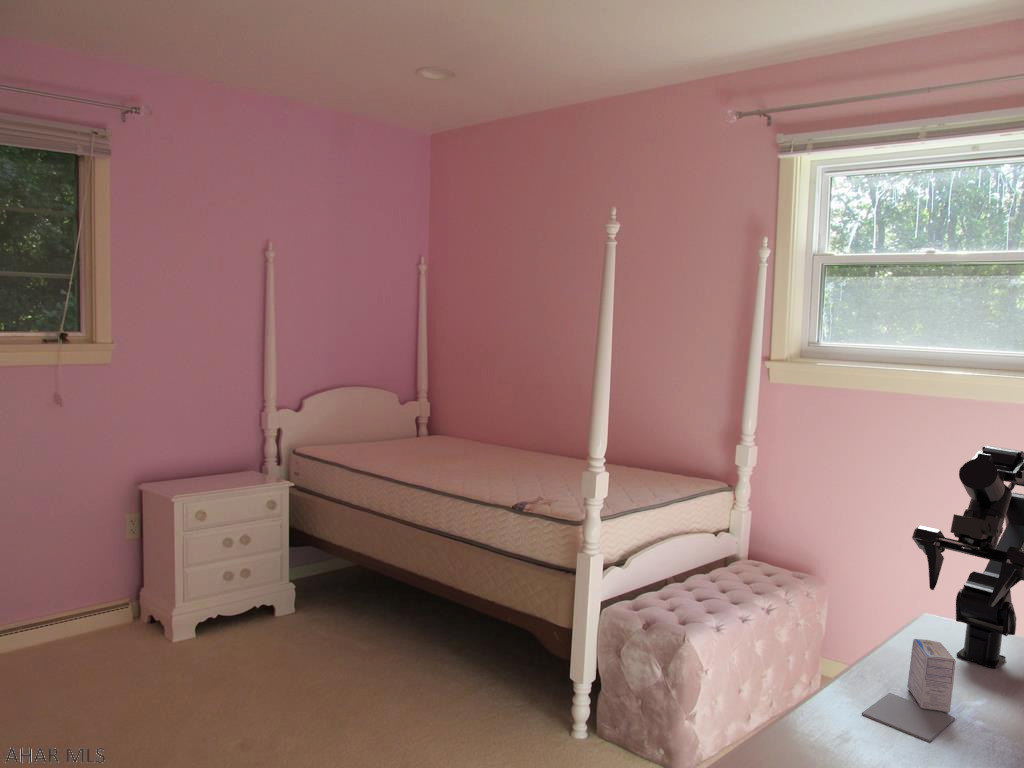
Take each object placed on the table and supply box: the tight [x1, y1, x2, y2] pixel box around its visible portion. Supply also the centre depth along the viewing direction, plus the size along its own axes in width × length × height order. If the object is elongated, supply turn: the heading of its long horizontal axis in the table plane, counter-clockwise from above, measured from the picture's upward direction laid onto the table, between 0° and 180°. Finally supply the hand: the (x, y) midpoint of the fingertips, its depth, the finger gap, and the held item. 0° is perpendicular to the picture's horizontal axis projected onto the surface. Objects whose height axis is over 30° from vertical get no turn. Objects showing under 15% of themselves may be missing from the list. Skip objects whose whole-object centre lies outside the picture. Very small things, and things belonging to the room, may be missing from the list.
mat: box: [861, 692, 956, 743], centre depth 128 cm, size 10×10×1 cm
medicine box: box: [907, 638, 957, 714], centre depth 133 cm, size 8×4×9 cm, turn 169°
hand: (960, 597), depth 139 cm, fingers open, 9 cm apart
